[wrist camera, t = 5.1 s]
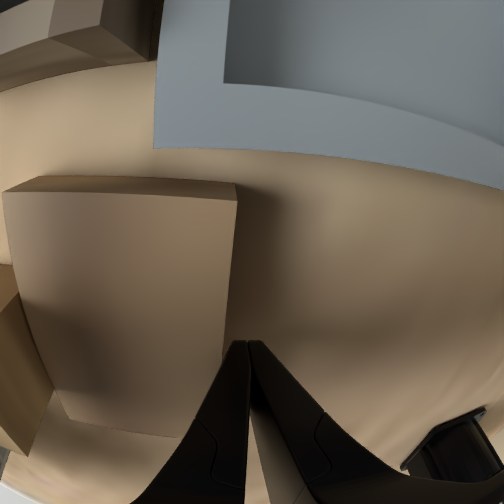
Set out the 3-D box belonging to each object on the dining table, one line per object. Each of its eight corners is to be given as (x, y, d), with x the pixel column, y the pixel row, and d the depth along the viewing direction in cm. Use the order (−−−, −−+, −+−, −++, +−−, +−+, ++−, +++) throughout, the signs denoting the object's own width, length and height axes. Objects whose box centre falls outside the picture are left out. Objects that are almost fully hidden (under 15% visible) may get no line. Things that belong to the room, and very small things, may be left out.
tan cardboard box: (233, 179, 8) (237, 200, 6) (214, 393, 12) (215, 440, 10) (47, 172, 8) (1, 192, 5) (85, 377, 11) (69, 419, 9)
